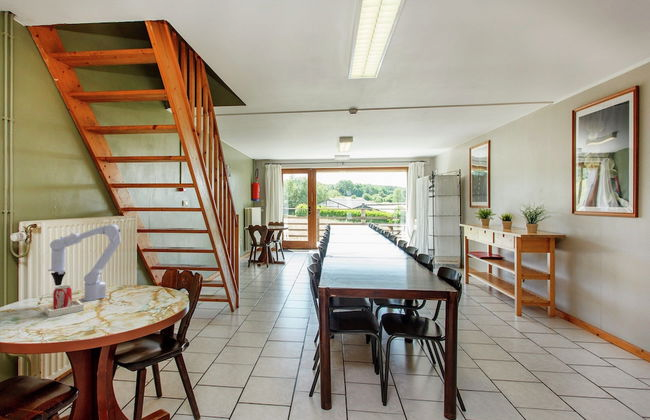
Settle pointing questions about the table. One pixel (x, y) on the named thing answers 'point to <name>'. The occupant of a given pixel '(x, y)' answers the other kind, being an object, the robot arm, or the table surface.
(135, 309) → the table surface
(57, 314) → the frame
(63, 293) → the soda can
